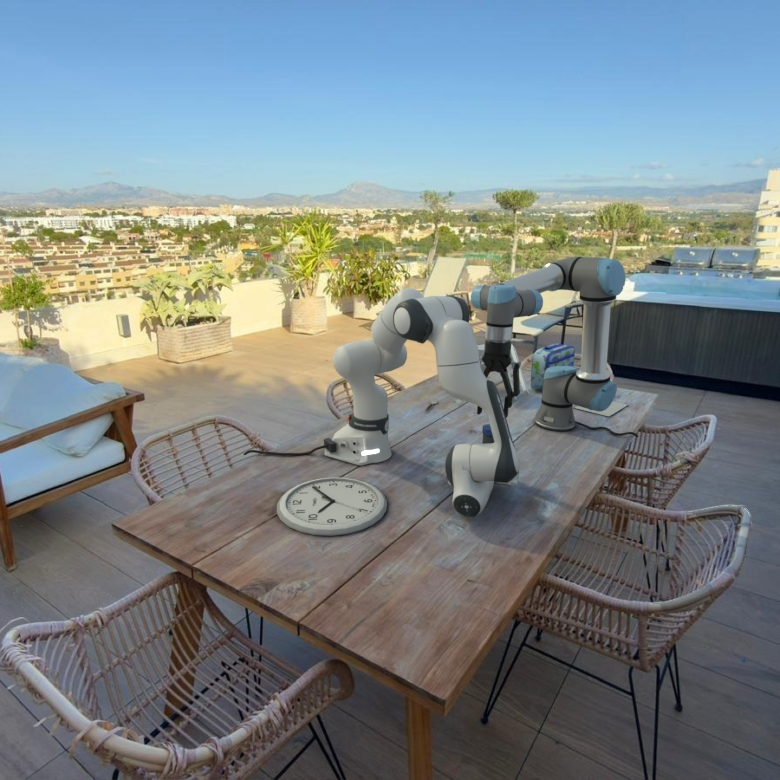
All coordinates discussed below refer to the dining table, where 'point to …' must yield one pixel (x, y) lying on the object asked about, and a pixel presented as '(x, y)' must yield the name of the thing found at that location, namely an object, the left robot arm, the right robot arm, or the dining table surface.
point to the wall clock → (331, 506)
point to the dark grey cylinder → (487, 439)
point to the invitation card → (609, 411)
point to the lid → (487, 430)
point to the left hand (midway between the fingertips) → (487, 459)
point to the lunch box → (550, 361)
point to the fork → (432, 403)
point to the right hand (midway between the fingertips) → (492, 415)
